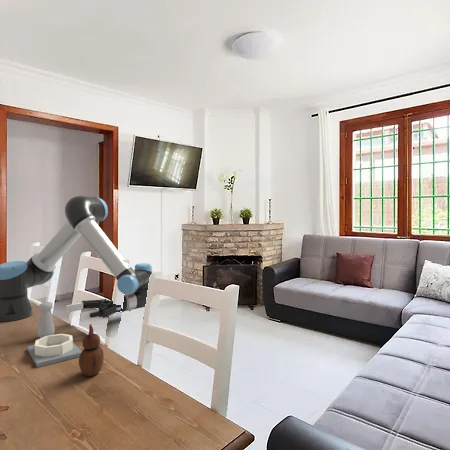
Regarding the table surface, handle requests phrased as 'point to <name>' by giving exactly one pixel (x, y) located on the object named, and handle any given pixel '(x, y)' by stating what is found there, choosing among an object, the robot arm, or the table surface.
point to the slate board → (44, 361)
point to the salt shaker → (45, 320)
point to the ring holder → (54, 350)
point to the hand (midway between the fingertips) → (73, 312)
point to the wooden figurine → (91, 354)
